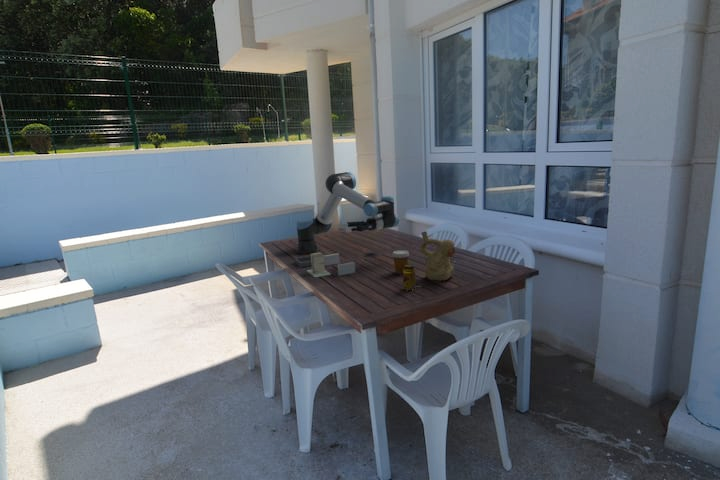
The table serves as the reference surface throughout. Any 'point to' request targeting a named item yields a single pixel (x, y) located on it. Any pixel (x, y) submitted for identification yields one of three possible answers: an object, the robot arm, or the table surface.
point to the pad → (318, 274)
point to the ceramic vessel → (438, 258)
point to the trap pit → (303, 261)
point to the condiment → (409, 277)
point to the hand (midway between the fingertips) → (341, 228)
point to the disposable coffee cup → (400, 260)
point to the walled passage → (342, 268)
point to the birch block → (317, 263)
